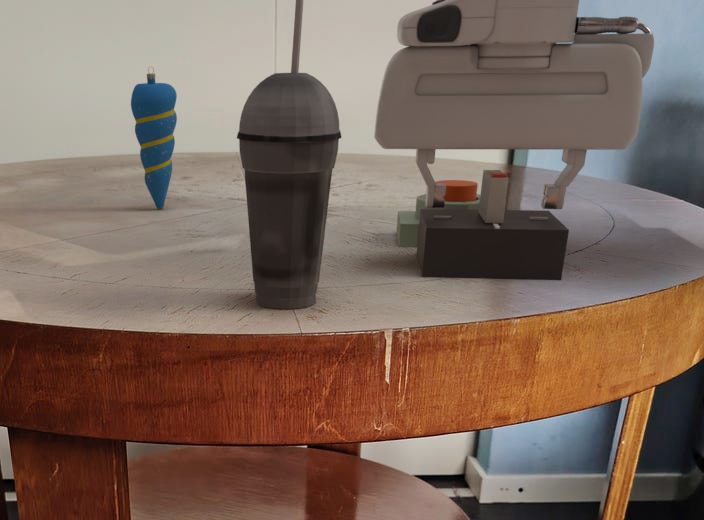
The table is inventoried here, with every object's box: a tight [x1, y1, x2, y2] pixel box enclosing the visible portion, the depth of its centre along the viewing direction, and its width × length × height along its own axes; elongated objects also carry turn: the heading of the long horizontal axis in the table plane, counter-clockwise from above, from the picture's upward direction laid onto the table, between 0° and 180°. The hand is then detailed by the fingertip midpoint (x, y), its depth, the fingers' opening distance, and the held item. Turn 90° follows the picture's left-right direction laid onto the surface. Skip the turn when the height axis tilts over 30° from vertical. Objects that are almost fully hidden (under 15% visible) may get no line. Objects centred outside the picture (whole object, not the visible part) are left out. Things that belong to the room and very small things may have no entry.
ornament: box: [130, 66, 178, 210], centre depth 102 cm, size 5×5×15 cm
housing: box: [396, 193, 481, 248], centre depth 86 cm, size 10×7×4 cm
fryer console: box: [416, 209, 570, 281], centre depth 76 cm, size 11×9×4 cm
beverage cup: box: [236, 0, 342, 310], centre depth 63 cm, size 7×7×20 cm
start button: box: [435, 179, 479, 202], centre depth 85 cm, size 4×4×2 cm
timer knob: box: [479, 169, 510, 223], centre depth 74 cm, size 5×1×4 cm, turn 172°
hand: (492, 207), depth 75 cm, fingers open, 8 cm apart
